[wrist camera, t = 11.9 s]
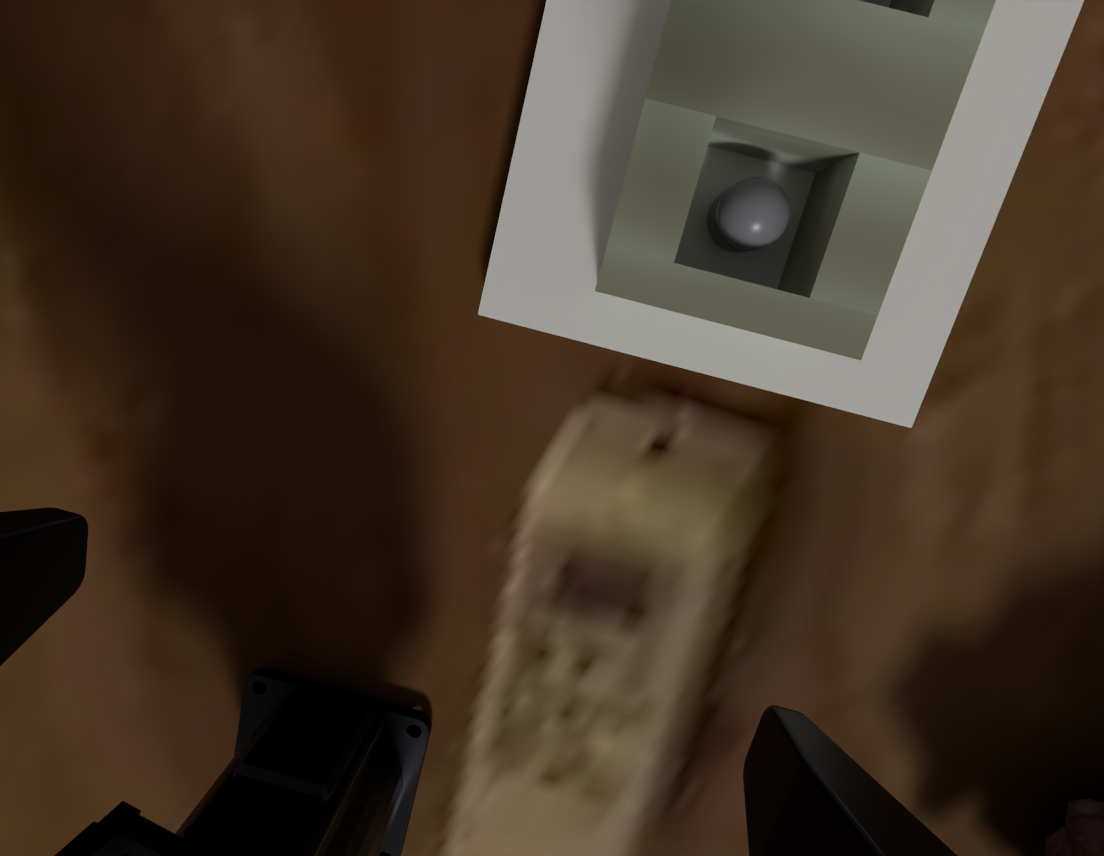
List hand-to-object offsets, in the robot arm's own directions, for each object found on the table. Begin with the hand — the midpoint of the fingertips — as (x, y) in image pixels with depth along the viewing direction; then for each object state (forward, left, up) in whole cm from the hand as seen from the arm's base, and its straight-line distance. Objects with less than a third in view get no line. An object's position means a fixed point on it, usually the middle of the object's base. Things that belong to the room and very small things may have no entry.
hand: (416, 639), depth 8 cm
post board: (+10, -4, -12) cm, 16 cm away
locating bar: (+10, -4, -10) cm, 15 cm away
